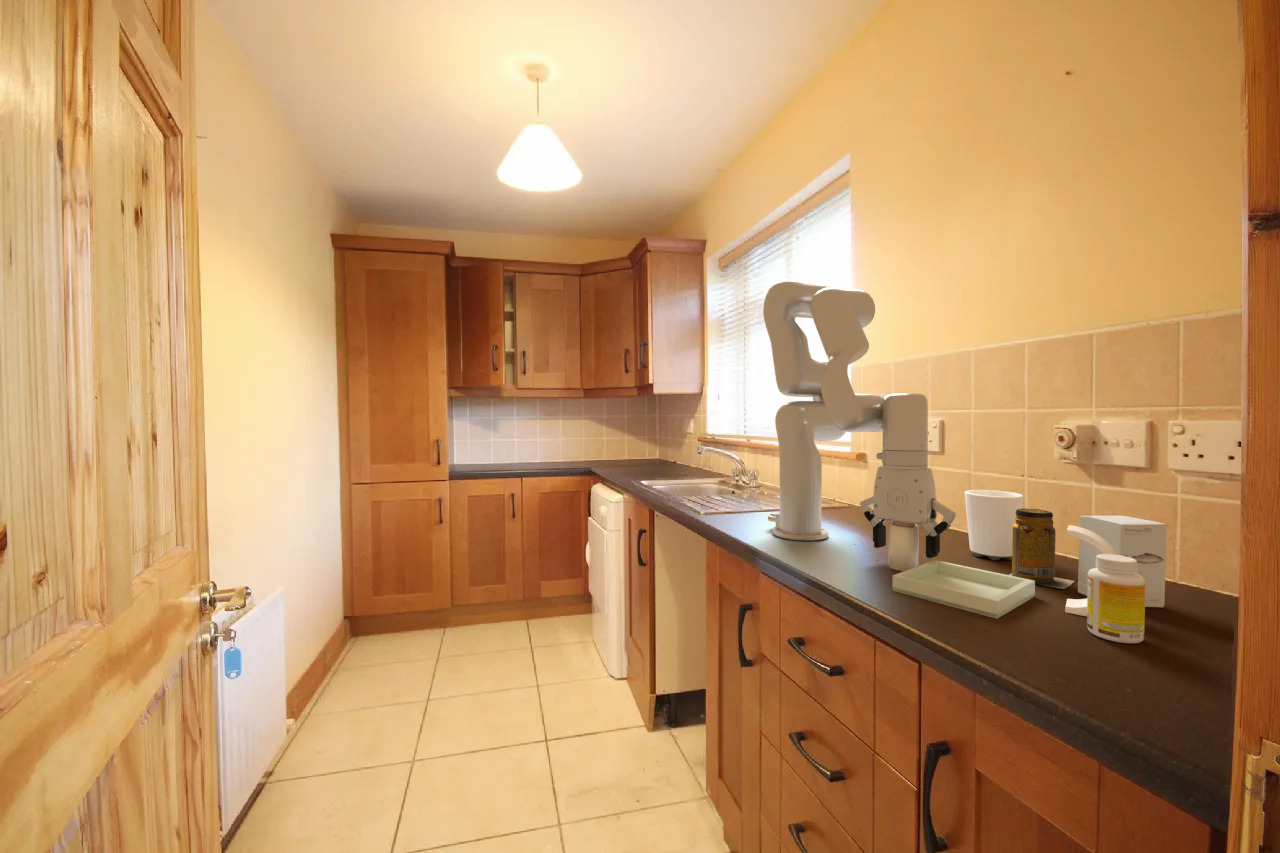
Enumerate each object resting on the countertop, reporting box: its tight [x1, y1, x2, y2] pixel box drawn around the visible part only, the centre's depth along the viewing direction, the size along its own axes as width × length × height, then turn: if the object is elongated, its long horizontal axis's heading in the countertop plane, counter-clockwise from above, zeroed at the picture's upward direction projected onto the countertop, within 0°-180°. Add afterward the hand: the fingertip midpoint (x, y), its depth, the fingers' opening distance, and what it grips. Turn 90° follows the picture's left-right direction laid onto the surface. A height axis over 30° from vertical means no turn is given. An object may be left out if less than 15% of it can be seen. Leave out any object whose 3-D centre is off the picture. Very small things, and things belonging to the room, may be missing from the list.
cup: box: [964, 489, 1024, 561], centre depth 108 cm, size 10×10×13 cm
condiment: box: [1008, 508, 1076, 590], centre depth 93 cm, size 7×8×12 cm
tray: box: [891, 559, 1036, 620], centre depth 86 cm, size 15×15×2 cm
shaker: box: [888, 521, 920, 572], centre depth 100 cm, size 5×5×9 cm
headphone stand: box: [1064, 524, 1117, 617], centre depth 77 cm, size 5×6×12 cm
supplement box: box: [1077, 515, 1168, 608], centre depth 83 cm, size 7×7×13 cm
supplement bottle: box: [1086, 554, 1146, 644], centre depth 69 cm, size 6×6×10 cm
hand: (904, 551), depth 100 cm, fingers open, 9 cm apart
